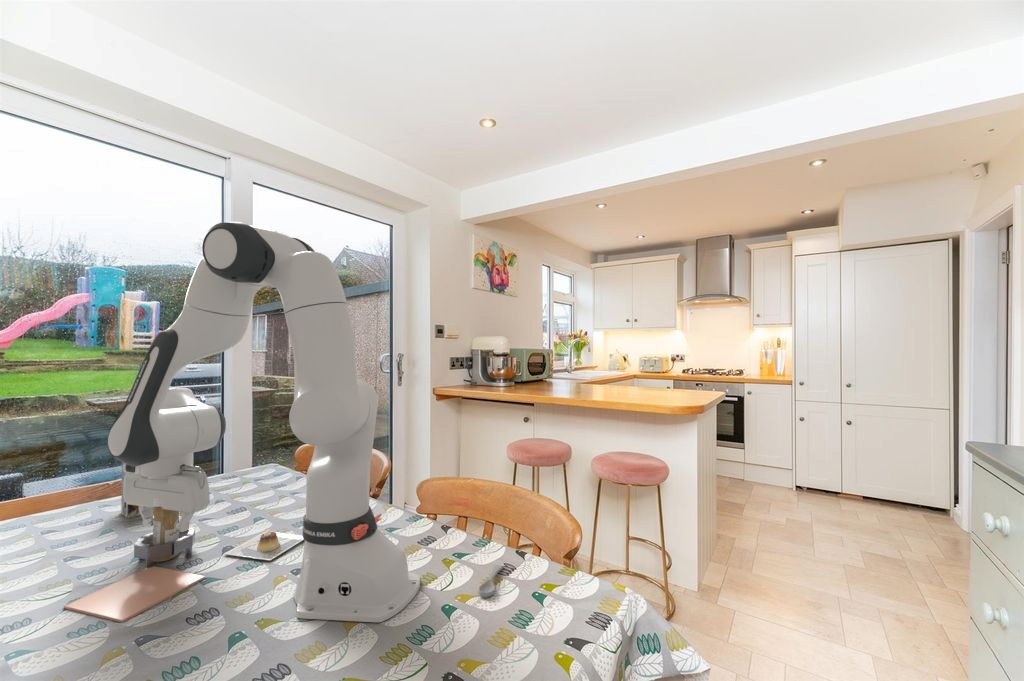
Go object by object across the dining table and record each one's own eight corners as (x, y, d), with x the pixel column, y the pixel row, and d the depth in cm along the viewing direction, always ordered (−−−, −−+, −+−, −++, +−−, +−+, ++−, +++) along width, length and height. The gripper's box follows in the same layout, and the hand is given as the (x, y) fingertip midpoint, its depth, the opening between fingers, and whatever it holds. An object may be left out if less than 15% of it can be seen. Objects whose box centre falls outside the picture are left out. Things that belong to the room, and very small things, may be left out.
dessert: (266, 535, 103) (267, 515, 103) (309, 540, 100) (309, 520, 100) (223, 559, 91) (223, 536, 91) (270, 565, 88) (270, 542, 89)
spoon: (475, 599, 76) (476, 588, 76) (491, 571, 88) (492, 561, 88) (491, 601, 76) (492, 590, 76) (505, 572, 87) (506, 562, 87)
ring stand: (204, 550, 94) (204, 529, 94) (158, 571, 84) (158, 549, 85) (172, 544, 96) (172, 524, 96) (123, 565, 87) (124, 543, 87)
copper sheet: (205, 578, 82) (205, 576, 82) (122, 622, 69) (122, 620, 69) (152, 567, 86) (152, 565, 86) (63, 608, 72) (63, 605, 72)
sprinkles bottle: (177, 559, 90) (179, 495, 90) (149, 564, 87) (151, 499, 88) (180, 550, 94) (181, 489, 94) (153, 555, 91) (155, 493, 91)
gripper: (219, 463, 91) (217, 527, 91) (149, 456, 96) (147, 517, 96) (189, 471, 85) (187, 540, 85) (117, 463, 90) (114, 528, 90)
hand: (165, 528), depth 90 cm, fingers open, 8 cm apart
